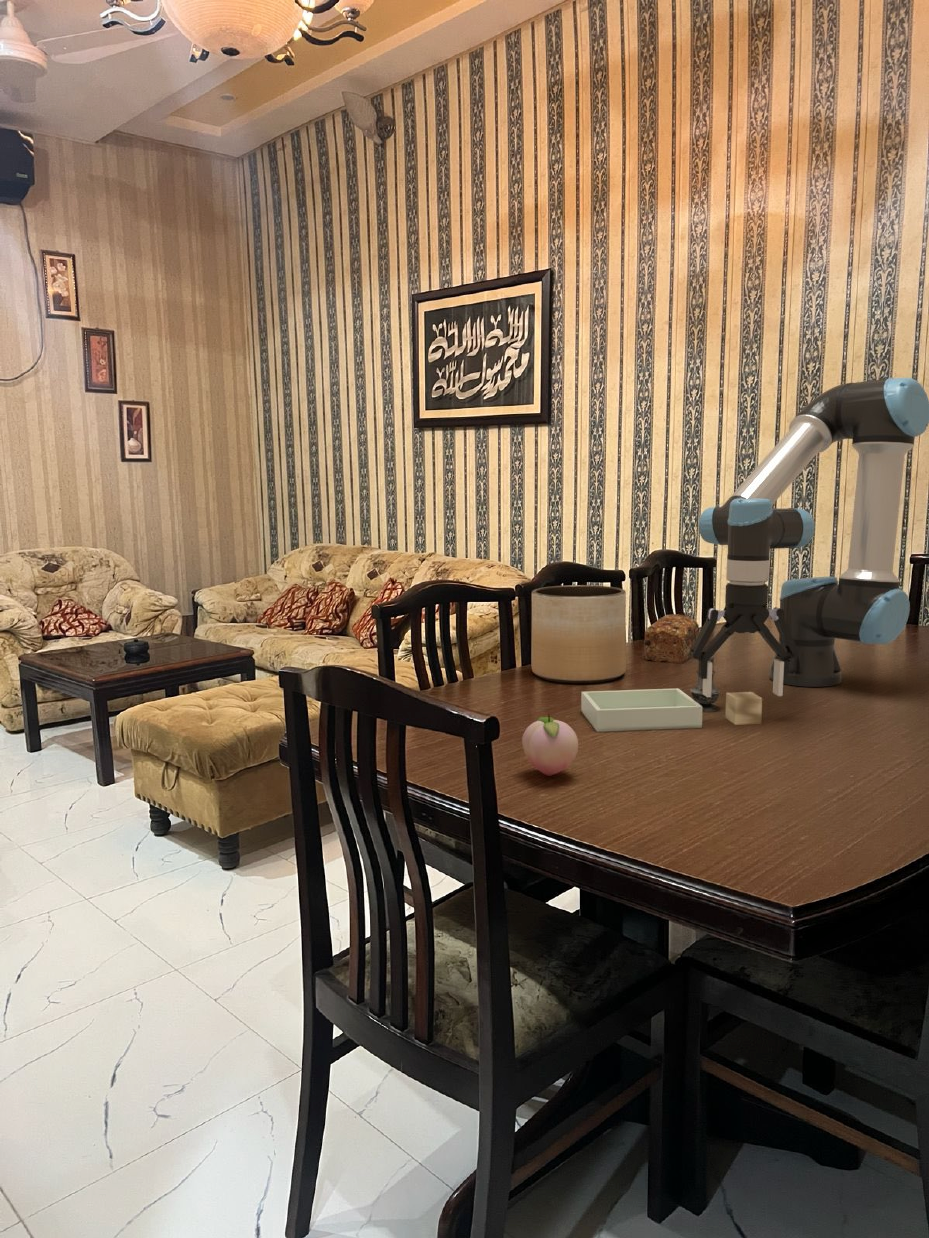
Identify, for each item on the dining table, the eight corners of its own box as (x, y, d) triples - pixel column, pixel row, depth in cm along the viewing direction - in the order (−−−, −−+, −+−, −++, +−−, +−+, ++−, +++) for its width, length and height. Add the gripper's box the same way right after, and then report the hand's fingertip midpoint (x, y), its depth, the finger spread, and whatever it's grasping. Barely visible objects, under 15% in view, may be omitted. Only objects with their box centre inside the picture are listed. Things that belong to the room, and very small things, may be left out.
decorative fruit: (587, 782, 138) (587, 718, 136) (537, 788, 135) (537, 723, 134) (563, 763, 146) (563, 704, 145) (516, 769, 144) (515, 708, 143)
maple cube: (751, 717, 173) (751, 691, 172) (761, 724, 168) (762, 698, 167) (725, 718, 172) (726, 692, 172) (734, 725, 167) (735, 699, 167)
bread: (661, 648, 243) (661, 612, 241) (701, 651, 238) (701, 613, 236) (642, 661, 226) (642, 622, 225) (684, 664, 222) (685, 624, 220)
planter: (617, 688, 198) (618, 597, 195) (520, 682, 205) (519, 595, 202) (632, 667, 219) (633, 585, 216) (543, 663, 226) (543, 584, 223)
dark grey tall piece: (721, 712, 176) (722, 652, 174) (690, 711, 177) (691, 651, 176) (719, 704, 182) (720, 646, 180) (689, 704, 183) (690, 646, 181)
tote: (678, 707, 180) (678, 688, 179) (701, 727, 166) (702, 706, 165) (581, 711, 179) (581, 691, 178) (596, 731, 164) (597, 710, 164)
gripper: (803, 580, 170) (798, 689, 173) (674, 581, 169) (671, 691, 172) (822, 584, 163) (815, 698, 166) (687, 585, 161) (683, 700, 164)
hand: (742, 695), depth 169 cm, fingers open, 13 cm apart
